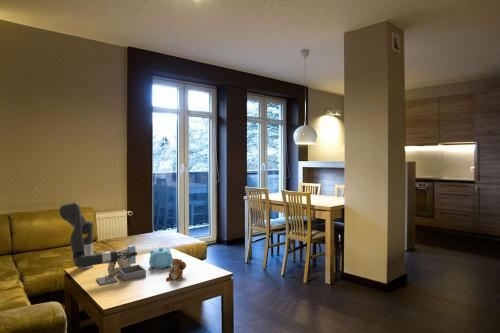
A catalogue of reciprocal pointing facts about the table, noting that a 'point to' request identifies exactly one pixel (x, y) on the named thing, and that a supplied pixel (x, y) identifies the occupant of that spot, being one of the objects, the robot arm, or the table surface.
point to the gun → (120, 262)
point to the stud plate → (106, 280)
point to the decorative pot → (160, 258)
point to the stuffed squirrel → (176, 270)
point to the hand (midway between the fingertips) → (135, 252)
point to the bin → (131, 272)
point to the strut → (133, 258)
